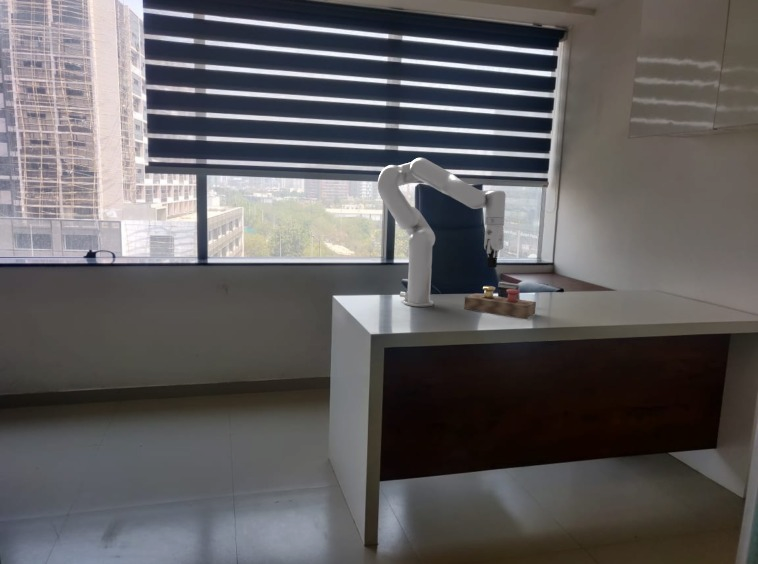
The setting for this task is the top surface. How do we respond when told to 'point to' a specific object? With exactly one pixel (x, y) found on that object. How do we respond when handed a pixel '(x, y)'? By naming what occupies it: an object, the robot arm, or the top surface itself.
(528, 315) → the plug block
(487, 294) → the brass plug
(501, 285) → the electrical switch
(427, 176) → the robot arm
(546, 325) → the top surface
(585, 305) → the top surface
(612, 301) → the top surface
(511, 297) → the oxblood plug
